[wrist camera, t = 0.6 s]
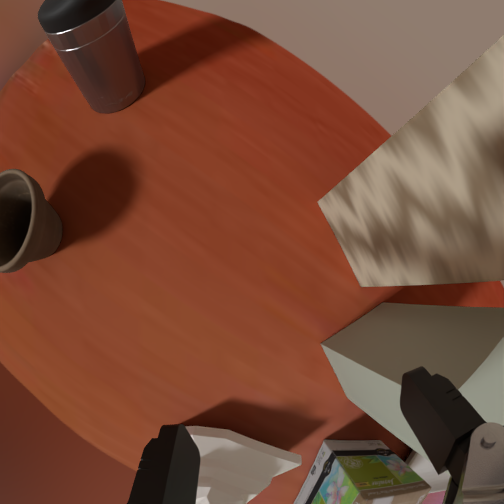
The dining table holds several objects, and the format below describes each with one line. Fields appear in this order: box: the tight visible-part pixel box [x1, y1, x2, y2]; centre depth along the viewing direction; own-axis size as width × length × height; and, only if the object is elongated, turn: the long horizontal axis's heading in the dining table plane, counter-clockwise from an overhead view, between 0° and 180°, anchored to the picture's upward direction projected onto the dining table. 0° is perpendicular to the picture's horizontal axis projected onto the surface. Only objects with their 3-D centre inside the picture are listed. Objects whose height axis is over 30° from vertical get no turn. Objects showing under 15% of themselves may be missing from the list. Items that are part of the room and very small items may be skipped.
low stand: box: [321, 302, 504, 476], centre depth 23 cm, size 9×10×22 cm
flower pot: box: [0, 169, 62, 273], centre depth 26 cm, size 12×11×10 cm
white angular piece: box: [185, 426, 302, 504], centre depth 24 cm, size 12×15×14 cm
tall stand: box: [318, 35, 504, 287], centre depth 20 cm, size 12×10×32 cm
